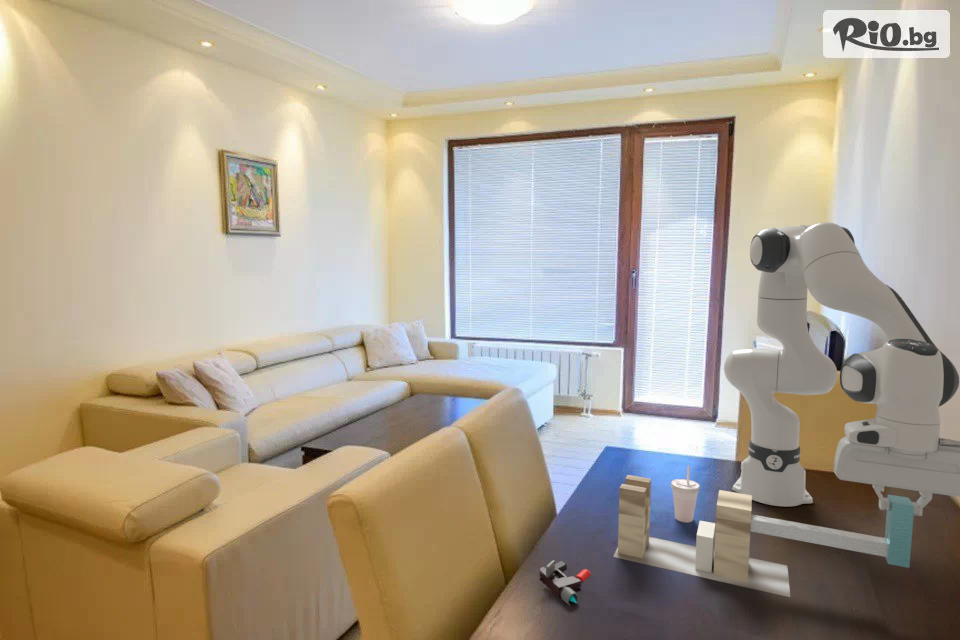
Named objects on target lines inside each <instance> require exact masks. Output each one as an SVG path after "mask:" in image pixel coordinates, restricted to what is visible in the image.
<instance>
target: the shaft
mask: <svg viewBox="0 0 960 640" xmlns="http://www.w3.org/2000/svg"><path fill="white" fill-rule="evenodd" d="M887 498H889V499H890V501H891V506H890V508H891V510H890V511H886V513H885V514H886V517H885V529H884V530H885V531H884V537H881V536H875V535H870V534H864V533H858V532H854V531H853V532H852V531H847V530H842V529H835V528H830V527H826V526H819V525H813V524H807V523H803V522H802V523H801V522H796V521H791V520H785V519H781V518H775V517H774V518H773V517H768V516H763V515H757V514H752V513H751V529H750V533H751V532H752V533H757V534H764V535H768V536H774V537H777V538H778V537H779V538H784V539H788V540H789V539H790V540H794V541H800V542H806V543H811V544H816V545H821V546H827V547H832V548H837V549H840V550H841V549H842V550H848V551H853V552H858V553H862V554H868V555H872V556H873V555H875V556H879V557H884V558H885V560H886V562H887V565H891V566H898V567H903V568H908V569H909V568H910V563H911V550H912V541H913V538H912V537H913V529H914V528H913V525H914V517H915V515H914V505H913V504H912V502H913V501H912V500H911V499H910V497H907V496H901V495H900V496H899V495H892V494H887Z"/></svg>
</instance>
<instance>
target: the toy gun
mask: <svg viewBox="0 0 960 640" xmlns="http://www.w3.org/2000/svg"><path fill="white" fill-rule="evenodd" d="M567 568H568V564H567V563H565V562H564V561H563V560H560V561H558V562H556V560H551V561H550V562H548V564H547V565H546V566H542V567H540V569H539V574H540V575H541V576H542V577H539V580H540V581H541V583H543V585H545V586H546V587H547V588H548V589H549V590H550V591H551V592H552V593H553V594H554V595H555V596H556V597H557V598H561V600H562V601H564V603H566V604H567V605H568V606H569V607H570V606H571V604H570V602H572V603H574V604H578V603H579V598H580V596H579V594H578V593H579V592H581V591H582V588H581V587H578V586H581V585H582V583H584V582H585V581H586V580H587V579H588V578H589V577H590V576H591V575H592V573H591V571H590V570H588V569H587V568H584V569H581V571H580V572H578V573H577V574H576V575H575V576H573V575H572V576H567V575H566V574H565V573H564V572H563V571H565V570H566V569H567ZM556 575H558V577H560V578H558V577H556Z"/></svg>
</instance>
